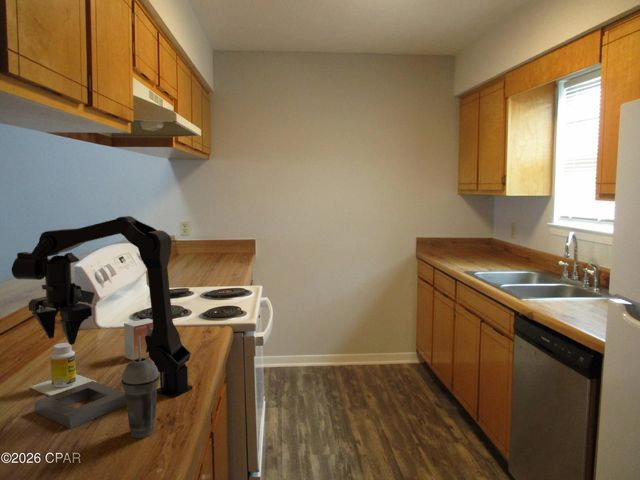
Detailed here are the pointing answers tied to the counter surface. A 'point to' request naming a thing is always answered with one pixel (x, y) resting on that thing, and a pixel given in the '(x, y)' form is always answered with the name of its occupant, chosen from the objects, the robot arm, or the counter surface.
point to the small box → (136, 337)
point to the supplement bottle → (63, 366)
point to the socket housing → (71, 417)
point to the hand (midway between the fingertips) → (61, 341)
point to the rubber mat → (51, 390)
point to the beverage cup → (141, 394)
